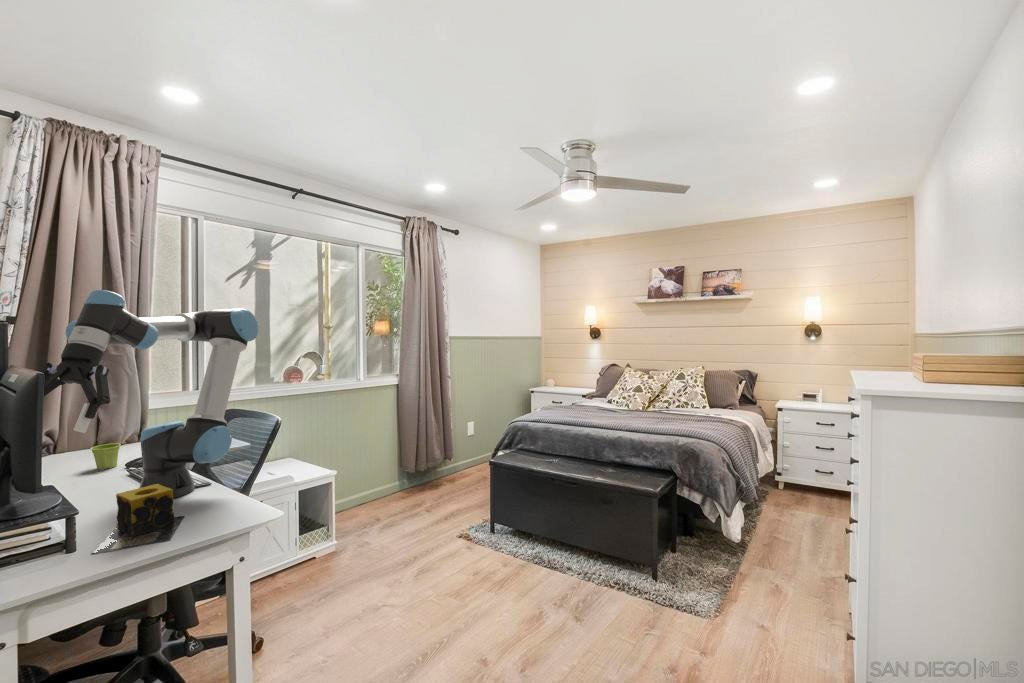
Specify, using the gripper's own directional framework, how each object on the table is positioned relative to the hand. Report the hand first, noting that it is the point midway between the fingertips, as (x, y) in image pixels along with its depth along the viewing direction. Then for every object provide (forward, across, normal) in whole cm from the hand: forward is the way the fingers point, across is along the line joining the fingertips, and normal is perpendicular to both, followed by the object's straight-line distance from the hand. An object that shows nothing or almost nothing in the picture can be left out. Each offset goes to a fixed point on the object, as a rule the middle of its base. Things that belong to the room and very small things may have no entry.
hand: (49, 430), depth 113 cm
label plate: (+20, +11, +27) cm, 35 cm away
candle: (+19, +10, +30) cm, 37 cm away
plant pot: (-6, -51, +89) cm, 103 cm away
